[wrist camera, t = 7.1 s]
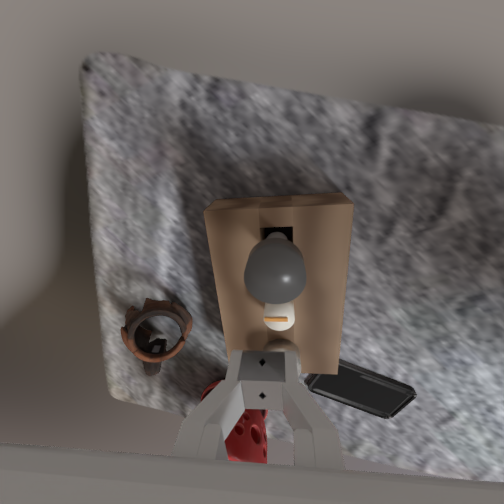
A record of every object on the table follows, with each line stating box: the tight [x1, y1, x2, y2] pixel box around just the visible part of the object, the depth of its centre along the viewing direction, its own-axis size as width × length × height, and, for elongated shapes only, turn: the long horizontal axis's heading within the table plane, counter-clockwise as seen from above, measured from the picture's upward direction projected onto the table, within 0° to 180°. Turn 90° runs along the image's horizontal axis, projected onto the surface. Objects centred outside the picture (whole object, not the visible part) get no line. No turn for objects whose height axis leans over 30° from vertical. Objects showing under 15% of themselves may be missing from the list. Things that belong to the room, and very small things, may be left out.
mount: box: [203, 192, 354, 374], centre depth 29 cm, size 14×22×5 cm, turn 5°
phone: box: [308, 359, 417, 419], centre depth 38 cm, size 8×1×15 cm
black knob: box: [244, 232, 307, 304], centre depth 21 cm, size 5×5×7 cm
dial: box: [263, 300, 295, 331], centre depth 26 cm, size 3×3×3 cm
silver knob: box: [263, 339, 301, 377], centre depth 31 cm, size 5×5×7 cm
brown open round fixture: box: [121, 298, 192, 376], centre depth 35 cm, size 12×9×8 cm
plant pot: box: [201, 380, 268, 464], centre depth 38 cm, size 13×13×12 cm
